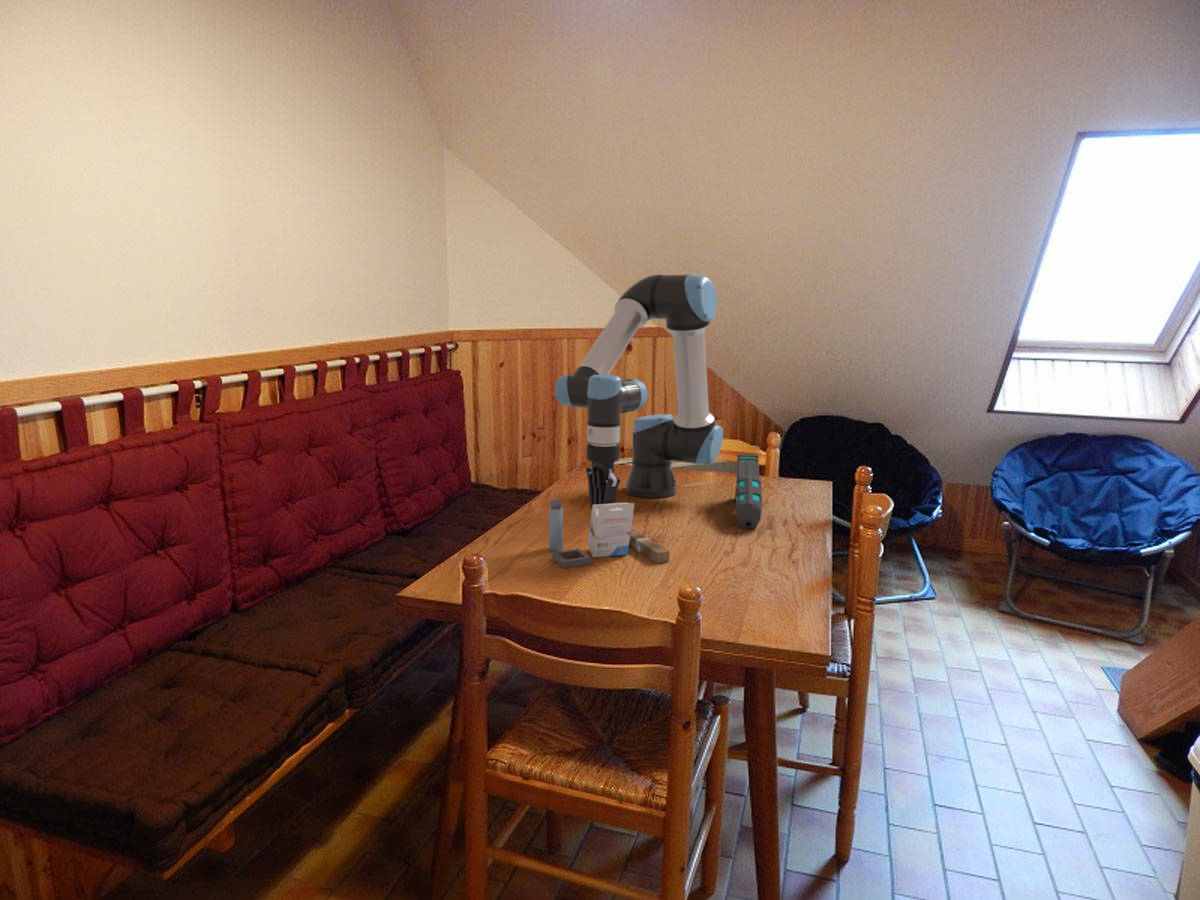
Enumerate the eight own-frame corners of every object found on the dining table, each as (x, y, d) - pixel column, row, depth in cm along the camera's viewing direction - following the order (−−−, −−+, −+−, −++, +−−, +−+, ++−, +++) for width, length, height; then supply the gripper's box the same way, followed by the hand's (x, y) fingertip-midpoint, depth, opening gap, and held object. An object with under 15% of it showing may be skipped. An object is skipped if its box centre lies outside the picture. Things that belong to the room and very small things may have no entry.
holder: (552, 558, 173) (552, 552, 173) (578, 554, 176) (578, 548, 176) (563, 568, 168) (563, 561, 167) (591, 564, 170) (591, 557, 170)
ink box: (622, 541, 180) (629, 490, 173) (627, 555, 176) (636, 503, 169) (587, 544, 178) (593, 492, 170) (592, 558, 174) (598, 506, 166)
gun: (756, 493, 226) (759, 448, 218) (759, 554, 201) (763, 506, 193) (734, 492, 227) (736, 447, 219) (733, 553, 202) (736, 505, 194)
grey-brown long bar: (609, 532, 192) (609, 522, 192) (620, 531, 194) (620, 521, 193) (657, 563, 171) (657, 552, 171) (669, 561, 173) (669, 550, 172)
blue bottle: (547, 547, 181) (547, 498, 178) (559, 546, 182) (559, 497, 179) (552, 552, 178) (552, 502, 175) (564, 550, 179) (565, 500, 177)
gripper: (576, 439, 179) (575, 535, 184) (601, 449, 168) (598, 552, 173) (605, 436, 183) (603, 531, 187) (631, 447, 171) (628, 548, 176)
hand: (601, 541), depth 180 cm, fingers closed
